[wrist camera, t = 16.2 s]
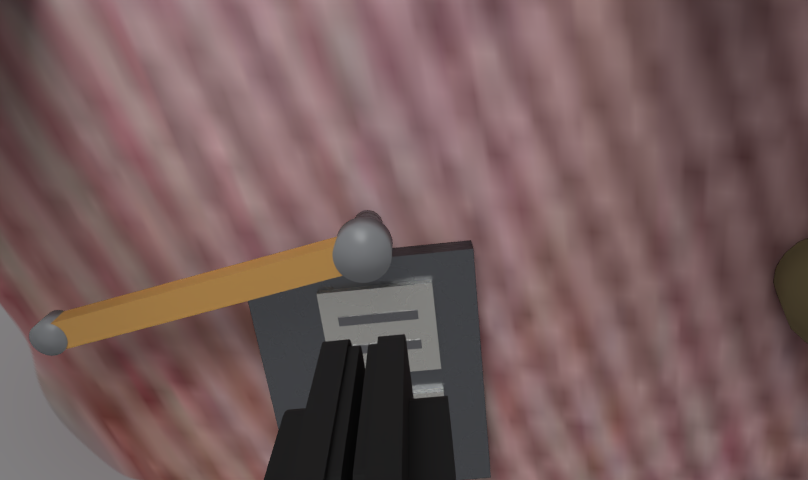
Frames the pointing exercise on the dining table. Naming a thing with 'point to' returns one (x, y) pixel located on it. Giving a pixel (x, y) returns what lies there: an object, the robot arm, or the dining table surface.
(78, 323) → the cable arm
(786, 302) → the squeeze bottle
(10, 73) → the dining table surface
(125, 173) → the dining table surface
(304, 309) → the label base
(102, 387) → the dining table surface
